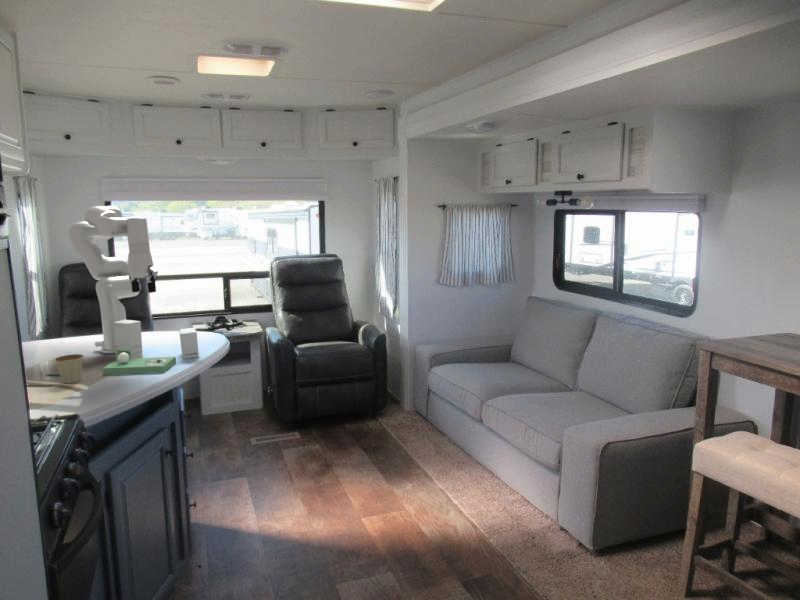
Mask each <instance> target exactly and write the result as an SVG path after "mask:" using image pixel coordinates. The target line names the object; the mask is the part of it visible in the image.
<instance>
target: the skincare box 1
mask: <svg viewBox="0 0 800 600" xmlns="http://www.w3.org/2000/svg"><path fill="white" fill-rule="evenodd" d="M114 334H115V350H116V353H115V361H116V360H117V359H118V355H119V354H120V353H127V354H128V355H129V358H144V357H143V356H144V354H143V343H142V342H143V341H142V322H141V320H134V319H126V320H121V321H117V322H114Z"/></svg>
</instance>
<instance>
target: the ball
mask: <svg viewBox="0 0 800 600" xmlns="http://www.w3.org/2000/svg"><path fill="white" fill-rule="evenodd" d="M128 360H129V355H128V354H127V353H120V354H119V355H118V361H119V362H120V363H126V362H128Z"/></svg>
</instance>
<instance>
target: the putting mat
mask: <svg viewBox="0 0 800 600" xmlns="http://www.w3.org/2000/svg"><path fill="white" fill-rule="evenodd" d="M176 363H177V360H176V356H163V357H161V356H160V357H143V358H129V360H128V362H126V363H120V362H119V361H118V359H117V360H116V359H115V360H114V361H112V362H111V363H109V364H107V365H105V366H104V367H103V368H102V375H103V376H105V375H130V373H136V374H148V373H147V372H161V373H165V372H167V371H168V370H169V369H171V368H172V367H173V366H172V365H173V364H174V365H175V364H176ZM168 368H169V369H168ZM167 369H168V370H167Z"/></svg>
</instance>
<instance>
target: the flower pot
mask: <svg viewBox="0 0 800 600" xmlns="http://www.w3.org/2000/svg"><path fill="white" fill-rule="evenodd" d="M84 358H85V355H84V354H81V353H79V354H78V353H74V354H66V355H61V356H58V357H55V358H53V362H55V364H56V366H57V370H58V372H59V376H60V379H61V382H62V384H66V383H67V384H74V383H77V382H79V381H82V377H83V361H84Z"/></svg>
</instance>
